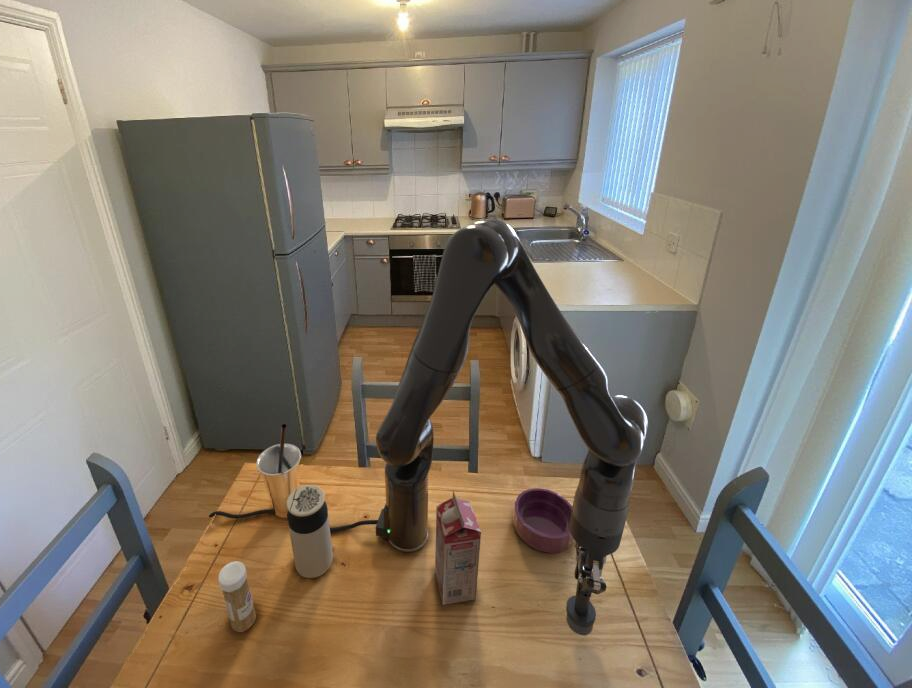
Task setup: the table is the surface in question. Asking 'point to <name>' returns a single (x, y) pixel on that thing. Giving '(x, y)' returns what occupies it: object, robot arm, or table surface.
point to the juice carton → (456, 550)
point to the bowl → (543, 520)
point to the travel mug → (309, 531)
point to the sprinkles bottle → (237, 596)
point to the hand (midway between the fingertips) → (582, 586)
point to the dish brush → (580, 614)
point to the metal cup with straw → (280, 472)
